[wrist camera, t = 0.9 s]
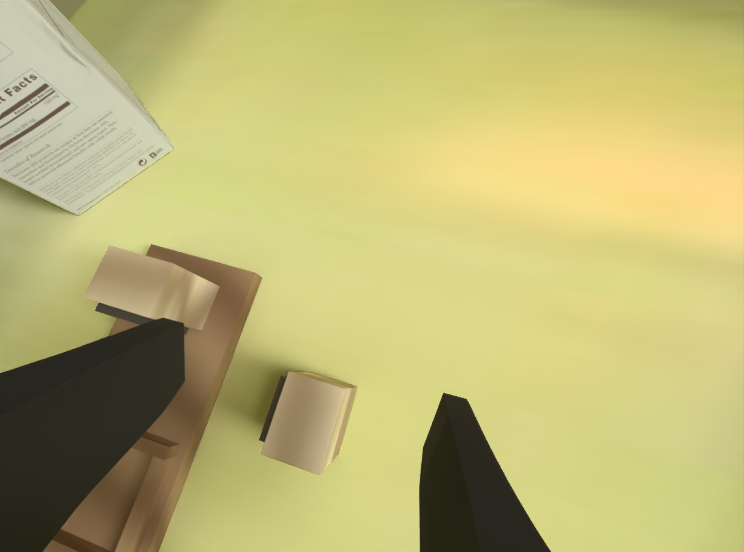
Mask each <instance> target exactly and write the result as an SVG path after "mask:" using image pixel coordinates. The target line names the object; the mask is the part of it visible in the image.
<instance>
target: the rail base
mask: <svg viewBox="0 0 744 552" xmlns="http://www.w3.org/2000/svg"><path fill="white" fill-rule="evenodd" d="M261 280H262V277H260V276H259V275H258V274H256V273H254V272H250V271H247V270H243V269H239V268H236V267H232V266H228V265H225V264H221V263H217V262H214V261H210V260H207V259H203V258H199V257H196V256H192V255H188V254H185V253H181V252H177V251H174V250H170V249H166V248H163V247H159V246H155V245H152V244H151V246H150V248H149V250H148V252H147V255H146V256H145V255H141V254H138V253H134V252H131V251H127V250H124V249H120V248H117V247H113V246H109V247H108V249H107V251H106V253H105V255H104V257H103V259H102V261H101V264H100V266H99V268H98V270H97V272H96V274H95V276H94V278H93V280H92V282H91V284H90V286H89V288H88V290H87V292H86V294H85V296H84V298H87V299H90V300H93V301H97V302H99V303H98V305H97V307H96V309H95V311H98V312H101V313H104V314H107V315H110V316H113V317H117V319H116V321H115V323H114V325H113V327H112V329H111V332H110V334H109V336H111V335H114V334H117V333H119V332H122V331H125V330H127V329H130V328H133V327H136V326H139V325H141V324H144V323H147V322H150V321H153V320H156V319H160V318H167V319H170V320H174V321H178V322H182V323H184V353H185V382H184V383H183V385H182V386H181V388H180V389H179V391H178V392H177V394H176V395H175V396H174V398H173V399H172V401H171V402H170V403H169V405H168V406H167V407H166V409H165V410H164V411H163V413H162V414H161V415H160V416H159V418H158V419H157V420H156V421H155V422H154V423H153V424H152V425H151V426H150V428H149V429H148V430H147V431H146V432H145V433H144V434H143V435H142V436H141V438H140V439H139V440H138V441H137V442H136V443H135V444H134V445H133V446H132V447H131V448H130V450H129V451H128V452H127V453H126V454H125V455H124V456H123V457H122V458H121V459H120V460H119V461H118V463H117V464H116V465H115V466H114V467H113V468H112V469H111V470H110V471H109V472H108V473H107V475H106V476H105V477H104V478H103V479H102V480H101V481H100V482H99V483H98V484H97V485H96V486H95V488H94V489H93V490H92V491H91V492H90V493H89V494H88V496H87V497H86V498H85V499H84V500H83V501H82V503H81V504H80V505H79V506H78V507H77V508H76V510H75V511H74V512H73V513H72V515H71V516H70V517H69V519H68V520H67V521H66V522H65V524H64V525H63V526H62V527H61V529H60V530H59V531H58V533H57V534H56V535H55V536H54V538H53V539H52V540H51V542H50V543H49V544H48V545H47V547H46V548H45V549H44V551H43V552H158V551H159V548H160V546H161V543H162V540H163V538H164V535H165V533H166V530H167V527H168V525H169V522H170V519H171V517H172V514H173V511H174V509H175V506H176V504H177V501H178V498H179V496H180V493H181V490H182V488H183V485H184V483H185V480H186V477H187V475H188V472H189V469H190V467H191V464H192V461H193V459H194V456H195V454H196V451H197V448H198V446H199V443H200V440H201V438H202V435H203V432H204V430H205V427H206V425H207V422H208V419H209V417H210V414H211V411H212V409H213V406H214V403H215V401H216V398H217V396H218V393H219V390H220V388H221V385H222V382H223V380H224V377H225V374H226V372H227V369H228V367H229V364H230V361H231V359H232V356H233V353H234V351H235V348H236V346H237V343H238V340H239V338H240V335H241V332H242V330H243V327H244V324H245V322H246V319H247V317H248V314H249V311H250V309H251V306H252V303H253V301H254V298H255V295H256V293H257V290H258V288H259V285H260V282H261Z"/></svg>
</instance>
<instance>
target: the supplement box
mask: <svg viewBox="0 0 744 552" xmlns="http://www.w3.org/2000/svg"><path fill="white" fill-rule="evenodd" d="M173 149H174V146H173V144H172V143H171V141H170V140H169V138H168V137H167V136H166V134H165V133H164V132H163V130H162V129H161V128H160V126H159V125H158V124H157V122H156V121H155V120H154V118H153V117H152V116H151V115H150V113H149V112H148V111H147V109H146V108H145V107H144V105H143V104H142V103H141V101H140V100H139V99H138V97H137V96H136V95H135V93H134V92H133V91H132V89H131V88H130V87H129V85H128V84H127V83H126V81H125V80H124V79H123V78H122V77H121V76H120V75H119V74H118V73H117V72H116V71H115V70H114V69H113V68H112V66H111V65H110V64H109V63H108V62H107V61H106V60H105V59H104V58H103V57H102V56H101V55H100V54H99V53H98V52H97V51H96V50H95V49H94V47H93V46H92V45H91V44H90V43H89V42H88V41H87V40H86V39H85V38H84V37H83V36H82V35H81V34H80V32H79V31H78V30H77V29H76V28H75V27H74V26H73V25H72V24H71V23H70V22H69V21H68V20H67V19H66V18H65V17H64V15H63V14H62V13H60V11H59V10H58V9H57V8H56V7H55V6H54V5H53V4H52V3H51V2H50V1H49V0H0V178H2V179H4V180H6V181H8V182H10V183H12V184H14V185H16V186H18V187H20V188H22V189H24V190H26V191H28V192H30V193H32V194H34V195H36V196H38V197H40V198H43V199H45V200H47V201H49V202H51V203H53V204H55V205H57V206H59V207H61V208H63V209H65V210H67V211H69V212H71V213H73V214H75V215H80V214H81V213H83V212H84V211H86V210H87V209H89V208H90V207H92V206H93V205H94V204H96V203H97V202H99V201H100V200H102V199H103V198H105V197H106V196H108V195H109V194H110V193H112V192H113V191H115V190H116V189H118V188H119V187H120V186H122V185H123V184H125V183H126V182H128V181H129V180H130V179H132V178H133V177H135V176H136V175H138V174H139V173H141V172H142V171H143V170H145V169H146V168H148V167H149V166H151V165H152V164H154V163H155V162H156V161H158V160H159V159H161V158H162V157H163V156H165V155H166V154H168V153H169V152H171V151H172V150H173Z"/></svg>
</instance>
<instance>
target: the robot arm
mask: <svg viewBox="0 0 744 552" xmlns="http://www.w3.org/2000/svg"><path fill="white" fill-rule="evenodd" d="M184 382H185V353H184V323H182V322H178V321H174V320H170V319H167V318H160V319H156V320H153V321H150V322H147V323H144V324H141V325H139V326H136V327H133V328H130V329H127V330H125V331H122V332H119V333H117V334H114V335H111V336H108V337H106V338H103V339H100V340H97V341H95V342H92V343H89V344H86V345H83V346H81V347H78V348H75V349H72V350H70V351H67V352H64V353H61V354H58V355H55V356H52V357H49V358H46V359H43V360H39V361H36V362H33V363H30V364H27V365H24V366H21V367H18V368H15V369H12V370H9V371H6V372H2V373H0V552H43V551H44V549H45V548H46V547H47V545H48V544H49V543H50V542H51V540H52V539H53V538H54V536H55V535H56V534H57V533H58V531H59V530H60V529H61V527H62V526H63V525H64V524H65V522H66V521H67V520H68V519H69V517H70V516H71V515H72V513H73V512H74V511H75V510H76V508H77V507H78V506H79V505H80V504H81V503H82V501H83V500H84V499H85V498H86V497H87V496H88V494H89V493H90V492H91V491H92V490H93V489H94V488H95V486H96V485H97V484H98V483H99V482H100V481H101V480H102V479H103V478H104V477H105V476H106V475H107V473H108V472H109V471H110V470H111V469H112V468H113V467H114V466H115V465H116V464H117V463H118V461H119V460H120V459H121V458H122V457H123V456H124V455H125V454H126V453H127V452H128V451H129V450H130V448H131V447H132V446H133V445H134V444H135V443H136V442H137V441H138V440H139V439H140V438H141V436H142V435H143V434H144V433H145V432H146V431H147V430H148V429H149V428H150V426H151V425H152V424H153V423H154V422H155V421H156V420H157V419H158V418H159V416H160V415H161V414H162V413H163V411H164V410H165V409H166V407H167V406H168V405H169V403H170V402H171V401H172V399H173V398H174V396H175V395H176V394H177V392H178V391H179V389H180V388H181V386H182V385H183V383H184ZM419 509H420V552H551V551H550V550H549V548H548V547H547V545H546V544H545V542H544V540H543V539H542V537H541V536H540V534H539V533H538V531H537V529H536V528H535V526H534V525H533V523H532V521H531V520H530V518H529V516H528V515H527V513H526V511H525V510H524V508H523V506H522V505H521V503H520V501H519V499H518V498H517V496H516V494H515V492H514V491H513V489H512V487H511V485H510V484H509V482H508V480H507V478H506V476H505V474H504V472H503V471H502V469H501V467H500V465H499V463H498V461H497V459H496V458H495V456H494V454H493V452H492V450H491V448H490V446H489V444H488V442H487V440H486V438H485V436H484V434H483V432H482V429H481V427H480V425H479V423H478V421H477V419H476V417H475V415H474V413H473V410H472V408H471V406H470V404H469V402H468V401H467V399H465V398H461V397H457V396H453V395H450V394H446V393H443V396H442V398H441V401H440V404H439V406H438V409H437V412H436V414H435V417H434V420H433V422H432V425H431V428H430V430H429V433H428V436H427V438H426V441H425V444H424V446H423V454H422V463H421V474H420V485H419Z"/></svg>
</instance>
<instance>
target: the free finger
mask: <svg viewBox="0 0 744 552" xmlns="http://www.w3.org/2000/svg"><path fill="white" fill-rule="evenodd" d="M357 389H358V387H357V386H353V385H350V384H347V383H344V382H341V381H337V380H334V379H331V378H328V377H325V376H322V375H318V374H315V373H307V372H293V371H289V372H288V375H287V376H281V378H280V380H279V383H278V386H277V389H276V392H275V395H274V398H273V401H272V404H271V407H270V410H269V413H268V415H267V418H266V421H265V424H264V427H263V430H262V433H261V436H260V439H259V440H260V441H263V442H265V443H264V446H263V449H262V452H261V454H262V455H264V456H267V457H270V458H273V459H276V460H278V461H281V462H284V463H287V464H289V465H292V466H295V467H298V468H300V469H303V470H306V471H309V472H311V473H314V474H317V475H320V474H321V473H322V472H323V470H324V469H325V468H326V467H327V466H328V465H329V464H330V463H331V462H332V461H333V460H334V459H335V457H336V456H337V455H338V454H339V451H340V447H341V444H342V440H343V437H344V433H345V430H346V427H347V423H348V420H349V416H350V413H351V409H352V406H353V403H354V399H355V396H356V392H357Z"/></svg>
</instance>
